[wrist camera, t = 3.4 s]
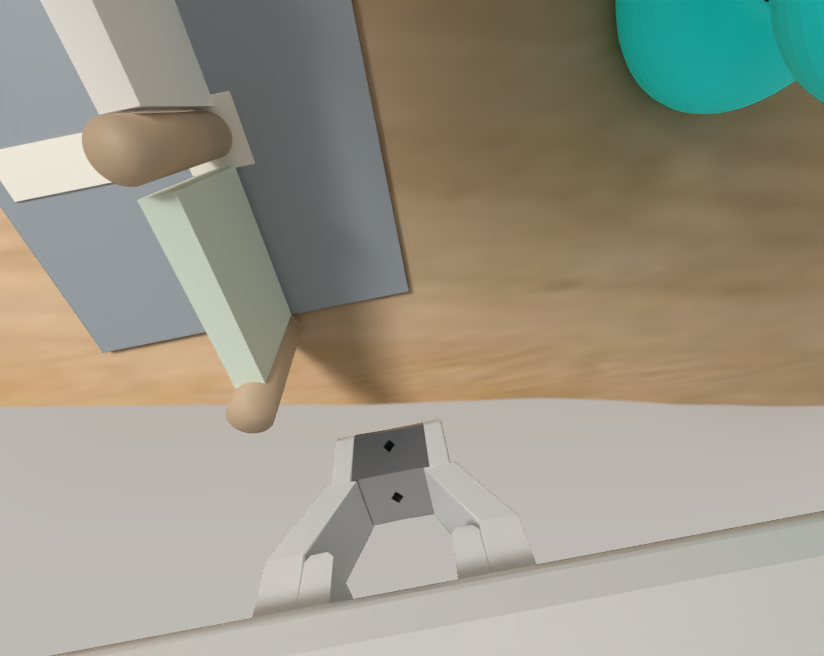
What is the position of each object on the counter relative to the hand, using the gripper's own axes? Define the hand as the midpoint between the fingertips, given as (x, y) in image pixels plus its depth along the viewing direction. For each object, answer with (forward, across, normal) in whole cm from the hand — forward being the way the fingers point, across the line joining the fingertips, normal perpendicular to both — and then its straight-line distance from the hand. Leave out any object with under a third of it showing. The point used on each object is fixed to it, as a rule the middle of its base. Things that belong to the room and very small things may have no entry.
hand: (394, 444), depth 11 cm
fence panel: (+11, +6, -3) cm, 13 cm away
